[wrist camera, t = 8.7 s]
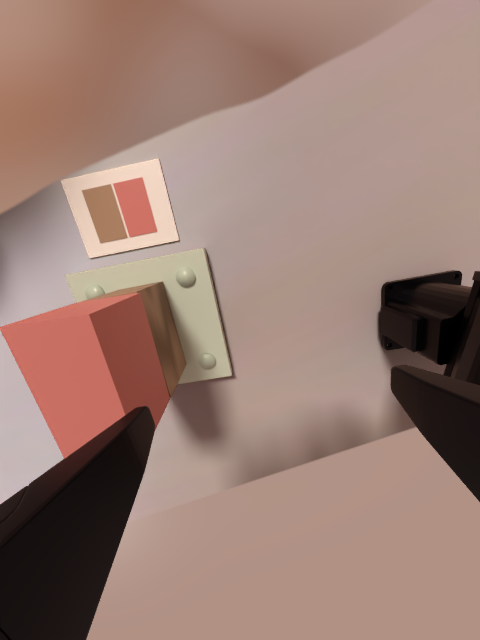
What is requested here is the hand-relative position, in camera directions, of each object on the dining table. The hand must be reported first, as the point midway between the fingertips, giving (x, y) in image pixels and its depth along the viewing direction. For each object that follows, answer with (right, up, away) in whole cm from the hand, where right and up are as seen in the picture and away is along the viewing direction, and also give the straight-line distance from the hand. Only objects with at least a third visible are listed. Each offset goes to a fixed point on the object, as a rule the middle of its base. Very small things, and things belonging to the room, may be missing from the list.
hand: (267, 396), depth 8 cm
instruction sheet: (-11, +12, +10) cm, 19 cm away
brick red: (-9, +1, +7) cm, 11 cm away
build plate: (-9, +2, +13) cm, 16 cm away
